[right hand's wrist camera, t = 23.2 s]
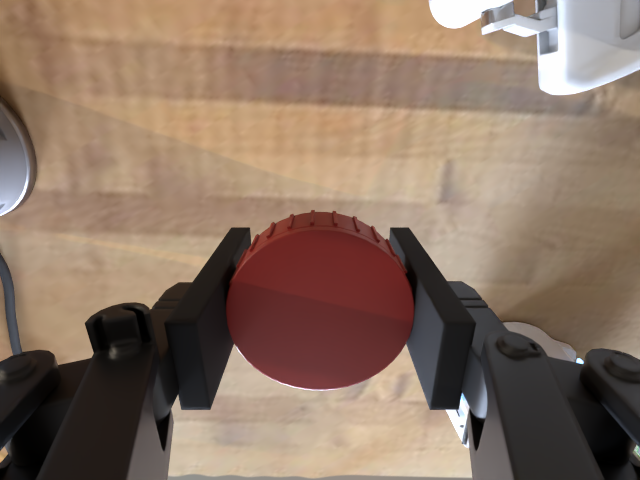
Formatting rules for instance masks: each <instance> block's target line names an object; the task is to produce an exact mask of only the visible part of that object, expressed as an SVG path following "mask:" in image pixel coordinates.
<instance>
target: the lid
mask: <svg viewBox="0 0 640 480" xmlns="http://www.w3.org/2000/svg"><path fill="white" fill-rule="evenodd" d="M236 267H237V268H236V270H235V272H234V274H233V276H232V278H231V280H230V282H229V285H230V287H229V290H228V294H227V299H226V317H227V325H228V329H229V332H230V335H231V337H232V339H233V342H234V344H235V345H236V347H237V349H238V350H239V352H240V353H241V354H242V355H243V357H244V358H245V359H246V360H247V361H248V362H249V363H250V364H251V365H252V366H253V367H254V368H256V369H257V370H258V371H260V372H261V373H262V374H264V375H266V376H268V377H269V378H271V379H273V380H275V381H278V382H280V383H282V384H286V385H289V386H292V387H296V388H301V389H309V390H331V389H339V388H344V387H348V386H352V385H355V384H358V383H360V382H363V381H365V380H367V379H369V378H371V377H373V376H374V375H376V374H378V373H379V372H381V371H382V370H383V369H385V368H386V367H387V366H388V365H389V364H390V363H391V362H392V361H394V359H395V358H396V357H397V356H398V355H399V353H400V352H401V351H402V349H403V347H404V346H405V344H406V342H407V340H408V338H409V336H410V333H411V330H412V326H413V319H414V298H413V293H412V287H411V285H410V283H409V281H408V279H407V277H406V275H405V274H406V273H407V271H406V269H405V267H404V265H403V263H402V261H401V259H400V257H399V255H398V254H397V255H396V254H395V252H394V250H393V248H392V246H391V244H390V242H389V240H388V239H386V240H385V239H384V238H383V237H382V236H381V235H380V234H379V233H378V232H376V229H375V227H374V226H371V227H370V226H368V225H366V224H364V223H363V222H361V221H359V220H357V217H355V216H353V218H351V217H349V216H345V215H341V214H336V211H333V213H329V212H315V210H311V213H304V214H299V215H295V216H294V214H291V215H290V217H289V218H286V219H284V220H281V221H279V222H278V223H276V224H275V223H274V222H273V223H271V226H270V227H269V228H268V229H267V230H265V231H264V232H263V233H261V234H260V235H258V234H257V235H256V236H255V238H254V240H253V242H252V244H251V246H250V247H249V248H248V250H247V249H245V250H244V252H243V254H242V256H241V258H240V260H239V262H238V264H237V266H236Z"/></svg>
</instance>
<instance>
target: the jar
mask: <svg viewBox="0 0 640 480" xmlns="http://www.w3.org/2000/svg"><path fill="white" fill-rule="evenodd" d="M511 1H513V0H429V5H430V9H431V12H432V14H433V16H434V18H435V19H436V20H437V21H438V22H439V23H440V24H441V25H443V26H445V27H448V28H459V27H463V26H465V25H467V24H469V23H471V22H473V21H475V20H477V19H479V18H480V17H481V13H484V12H485V11H487V10H489V9H492V8H495V7H501V6H503V5H505V4H507V3H509V2H511Z"/></svg>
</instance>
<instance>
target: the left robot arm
mask: <svg viewBox="0 0 640 480" xmlns="http://www.w3.org/2000/svg"><path fill="white" fill-rule="evenodd" d="M535 6H536V13H535V14H533V15H530V16H528V17H525V16H521V15H518V14H514V5H513V2H510V3H507V4H505V5H503V6H501V7H495V8H492V9H489V10H487V11H485V12H484V13H481V26H482V28H481V29H482V35H484V34H487V33H490V32H494V31H497V30H500V29H503V30H504V31H507V32H510V33H513V34H516V35H520V36H523V37H527V36H530V35H534V34H537V51H538V73H539V87H540V89H541V90H543V91H545V92H547V93H549V94H551V95H567V94H574V93H579V92H582V91H586V90H589V89H592V88H595V87H598V86H601V85H604V84H606V83H609V82H611V81H614V80H616V79H619V78H621V77H624V76H626V75H628V74H631V73H633V72H635V71H637V70H639V69H640V0H535ZM503 324H504V326H505V327H506V328H507V329H508V330H509V331H512V332H516V333H519V334H522V335H524V336H526V337H529V338H531V339H532V340H534V341H535V342H536V343H538V344H539V345H541V347H542V348H543V349H544V351H545V352H546V354H547V356H549V357H553V358H557V359H562V360H567V361H571V362H575V359H576V352H575V350H574V349H573V348H572V347H571V346H570V345H569V344H566V343H563V342H560V341H556V340H553V339H552V338H550V337H549V336H548V335H547V334H546V333H545V332H544V331H542V330H541V329H539V328H537V327H535V326H533V325H530V324H526V323H521V322H504V323H503ZM577 363H581V364H583V361H582V360H581V359H577ZM446 411H447V413H448V415H449V417H450V419H451V421H452V423H453V425H454V427H455V429H456V431H457V433H458V435H459V436H460V438H461V440H462V439H463V434H464V429H465V424H466V420H467V415H468V411H469V405H468V403H467V401H466V399H465V397H464V395H463V393H462V396H461V401H460V406H459V410H446ZM464 445H465V444H464ZM465 446H466V447H467V448H469V440H467V444H466V445H465ZM633 454H634V455H635V456H636V457H637V458H638V460H639V461H640V457H639V455H638V454H637V453H636V452H635V451H633Z"/></svg>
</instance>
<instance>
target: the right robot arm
mask: <svg viewBox="0 0 640 480" xmlns="http://www.w3.org/2000/svg"><path fill="white" fill-rule="evenodd" d="M36 173H37V164H36V156H35V151H34V148H33V144H32V142H31V139H30V137H29V134H28V132H27V130H26V128H25V127H24V125H23V123H22V122H21V120H20V119H19V117H18V116H17V114H16V113H15V112H14V110H13V109H12V108H11V107H10V106H9V105H8V104H7V102H6V101H5V100H4V99H3V98H2V97H0V216H1V215H4V214H7V213H9V212H11V211H13V210H15V209H17V208H18V207H19V206H21V205H22V204H23V203H24V202H25V201H26V200H27V198H28V197H29V195H30V194H31V192H32V190H33V187H34V184H35V180H36ZM389 242H390V244H391V246H392V248H393V250H394V252H395V254H396V255H397V254H398V255H399V257H400V259H401V261H402V263H403V265H404V267H405V269H406V271H407V273H406V274H405V275H406V277H407V279H408V281H409V283H410V285H411V287H412V293H413V298H414V319H413V326H412V330H411V333H410V336H409V338H408V340H407V342H406V344H407V347H408V350H409V353H410V355H411V358H412V361H413V364H414V367H415V369H416V372H417V375H418V378H419V381H420V383H421V386H422V389H423V392H424V394H425V397H426V400H427V403H428V406H429V408H430V410H459V406H460V401H461V396H462V393H463V395H464V397H465V399H466V401H467V403H468V405H469V411H468V415H467V420H466V424H465V429H464V434H463V439H462V444H465V445H466V444H467V440H469V450H470V459H471V468H472V477H473V480H640V461H639V460H638V458H637V457H636V456H635V455H634V454H633V451H634V449H635V447H636V444H637V445H638V446H639V448H640V360H639V359H637V358H635V357H633V356H631V355H629V354H626V353H624V352H623V353H622V352H620V351H616V350H609V349H602V348H601V349H592V350H591V351H589V352H588V353H587V354H586V356H585V359H584V362H583V364H581V363H576V362H571V361H567V360H562V359H557V358H553V357H549V356H547V354H546V352H545V351H544V349H543V348H542V347H541V345H539V344H538V343H536V342H535V341H534V340H532V339H531V338H529V337H526V336H524V335H522V334H519V333H516V332H512V331H509V330H508V329H507V328H506V327H505V326H504V324H503V323H502V322H501V321H500V320H499V318H498V317H497V316H496V315H495V314H494V312H493V311H492V310H491V309H490V308H488V305H487V304H486V303H485V301H484V300H482V298H481V297H480V295H479V294H478V293H477V292H476V291H475V289H473V288H472V287H470V286H468V285H467V284H465V283H463V282H462V281H446V279H445V278H444V277H443V275H442V274H441V272H440V271H439V269H438V268H437V267H436V265H435V264H434V262H433V261H432V260H431V258H430V257H429V255H428V254H427V253H426V251H425V250H424V248H423V247H422V246H421V244H420V243H419V241H418V240H417V239H416V237H415V236H414V234H413V233H412V231H411V230H410V229H409V228H390V238H389ZM250 246H251V235H250V228H231V229H230V230H229V232H228V233H227V235H226V236H225V237H224V239H223V240H222V242H221V243H220V244H219V246H218V247H217V249H216V250H215V252H214V253H213V254H212V256H211V257H210V259H209V260H208V261H207V263H206V264H205V266H204V267H203V268H202V270H201V271H200V273H199V274H198V275H197V277H196V278H195V280H194V281H193V282H179V283H177V284H175V285H174V286H172V287H171V288H169V289H167V290H166V291H165V292H164V294H163V295H162V296H161V297H160V298H159V301H157V302H156V303H155V304H154V306H153V307H152V309H150V310H149V307H147V306H146V305H144V304H141V303H122V304H118V305H114V306H111V307H108V308H105V309H103V310H100V311H99V312H97V313H96V314H94V315H92V316H91V317H90V318H89V319H88V320H87V321H86V322H85V326H86V329H87V332H88V335H89V339H90V342H91V345H92V348H93V352H94V354H93V356H92V358H90V359H86V360H81V361H76V362H71V363H66V364H61V365H58V364H57V361H56V358H55V356H54V354H52V353H51V352H50V351H45V350H35V351H28V352H23V353H22V349H21V345H20V339H19V333H18V326H17V320H16V313H15V297H14V287H13V281H12V277H11V274H10V271H9V268H8V266H7V264H6V262H5V260H4V258H3V257H2V255H1V253H0V276H1V279H2V283H3V288H4V296H5V311H6V319H7V325H8V331H9V337H10V343H11V348H12V352H13V356H11V357H9V358H7V359H5V360H3V361H1V362H0V451H1V449H2V448H3V447H4V446H5V448H6V450H7V452H8V455H7V456H6V457H5V458H4V460H3V461H2V462H1V463H0V480H167V478H168V469H169V460H170V450H171V441H172V432H173V423H174V422H173V415H172V411H171V407H172V405H173V403H174V401H175V399H176V397H177V395H179V400H180V405H181V410H210V409H211V406H212V403H213V401H214V398H215V395H216V392H217V390H218V387H219V384H220V381H221V378H222V376H223V373H224V370H225V367H226V364H227V362H228V359H229V356H230V353H231V350H232V348H233V345H234V342H233V339H232V337H231V335H230V332H229V329H228V325H227V317H226V299H227V294H228V290H229V287H230V285H229V282H230V280H231V278H232V276H233V274H234V272H235V270H236V268H237V267H236V266H237V264H238V262H239V260H240V258H241V256H242V254H243V252H244V250H245V249H247V250H248V248H249V247H250Z"/></svg>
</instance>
